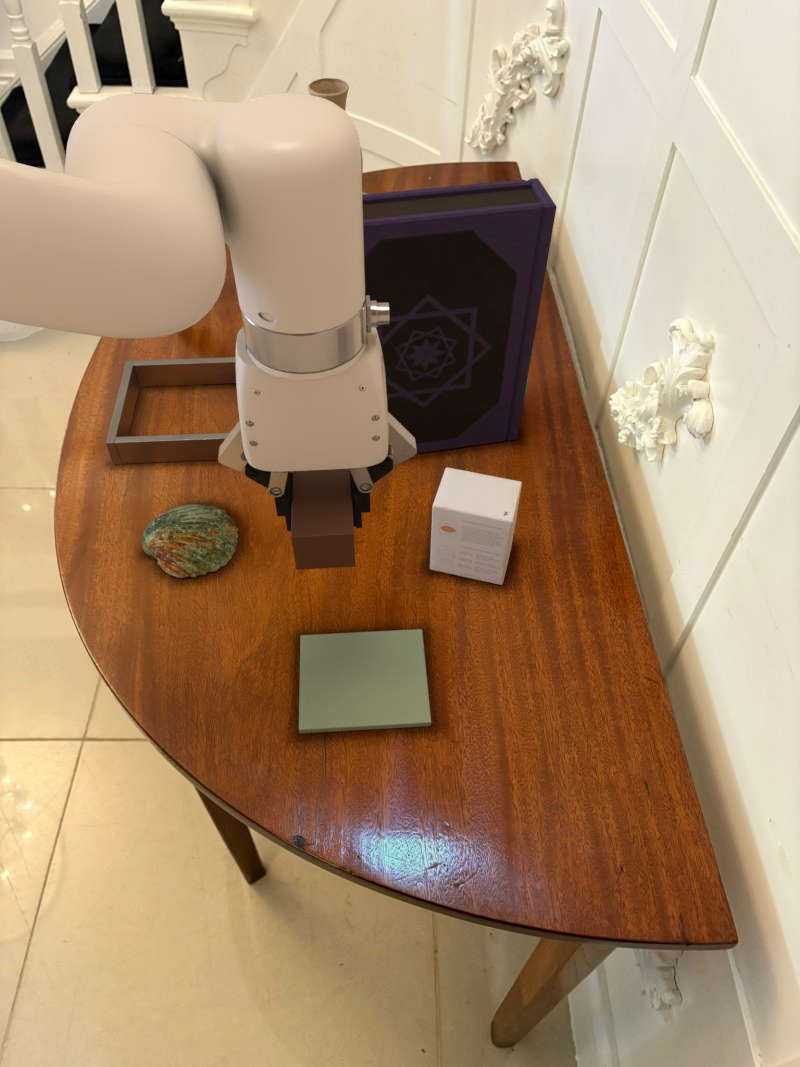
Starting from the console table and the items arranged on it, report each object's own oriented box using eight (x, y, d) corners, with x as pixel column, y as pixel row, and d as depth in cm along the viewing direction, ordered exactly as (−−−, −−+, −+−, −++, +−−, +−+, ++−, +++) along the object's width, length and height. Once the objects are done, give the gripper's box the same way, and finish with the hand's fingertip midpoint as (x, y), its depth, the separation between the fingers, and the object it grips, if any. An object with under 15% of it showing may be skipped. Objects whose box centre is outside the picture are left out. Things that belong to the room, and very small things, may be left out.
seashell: (234, 545, 79) (133, 559, 78) (241, 571, 82) (143, 585, 81) (231, 479, 86) (138, 492, 84) (237, 506, 89) (148, 518, 87)
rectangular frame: (113, 464, 92) (105, 443, 89) (133, 382, 101) (126, 360, 99) (258, 458, 93) (254, 437, 90) (264, 377, 102) (260, 356, 99)
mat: (299, 733, 70) (298, 729, 70) (301, 639, 77) (300, 635, 76) (430, 726, 71) (431, 722, 70) (421, 633, 77) (422, 628, 77)
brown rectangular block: (296, 570, 59) (290, 537, 56) (297, 474, 65) (293, 440, 62) (355, 567, 59) (353, 533, 56) (351, 472, 65) (349, 437, 62)
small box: (512, 547, 84) (524, 480, 76) (502, 587, 81) (514, 522, 73) (440, 531, 86) (445, 464, 77) (427, 570, 82) (431, 504, 74)
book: (503, 409, 98) (537, 175, 75) (517, 442, 95) (558, 207, 71) (319, 433, 95) (295, 197, 72) (326, 470, 91) (303, 232, 68)
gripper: (435, 284, 50) (426, 477, 65) (173, 292, 50) (221, 486, 64) (448, 356, 46) (435, 547, 60) (158, 367, 45) (214, 559, 59)
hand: (324, 514), depth 62 cm, fingers closed on brown rectangular block, 4 cm apart
